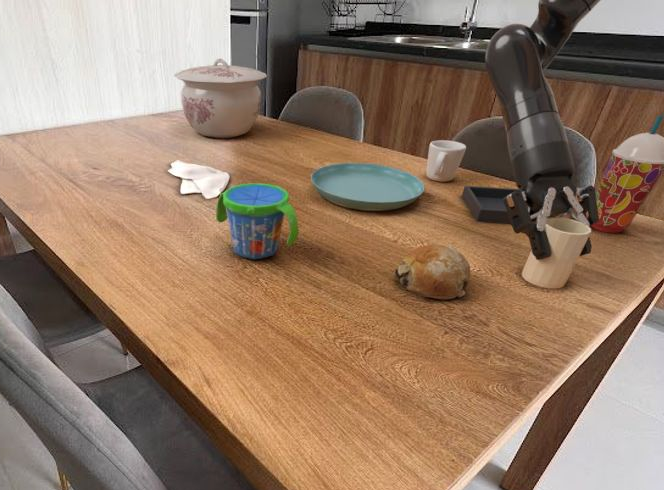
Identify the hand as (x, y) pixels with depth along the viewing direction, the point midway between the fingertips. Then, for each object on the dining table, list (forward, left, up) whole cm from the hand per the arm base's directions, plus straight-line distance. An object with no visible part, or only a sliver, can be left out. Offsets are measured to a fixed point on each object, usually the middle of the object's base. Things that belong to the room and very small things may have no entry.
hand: (563, 256), depth 66 cm
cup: (+9, -47, -5) cm, 48 cm away
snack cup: (+47, -3, -5) cm, 47 cm away
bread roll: (+19, +3, -5) cm, 20 cm away
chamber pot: (+69, -81, -5) cm, 106 cm away
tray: (-3, -30, -5) cm, 30 cm away
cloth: (+65, -37, -5) cm, 74 cm away
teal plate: (+27, -34, -5) cm, 43 cm away
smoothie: (-18, -25, -5) cm, 31 cm away
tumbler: (+1, -2, -5) cm, 5 cm away
